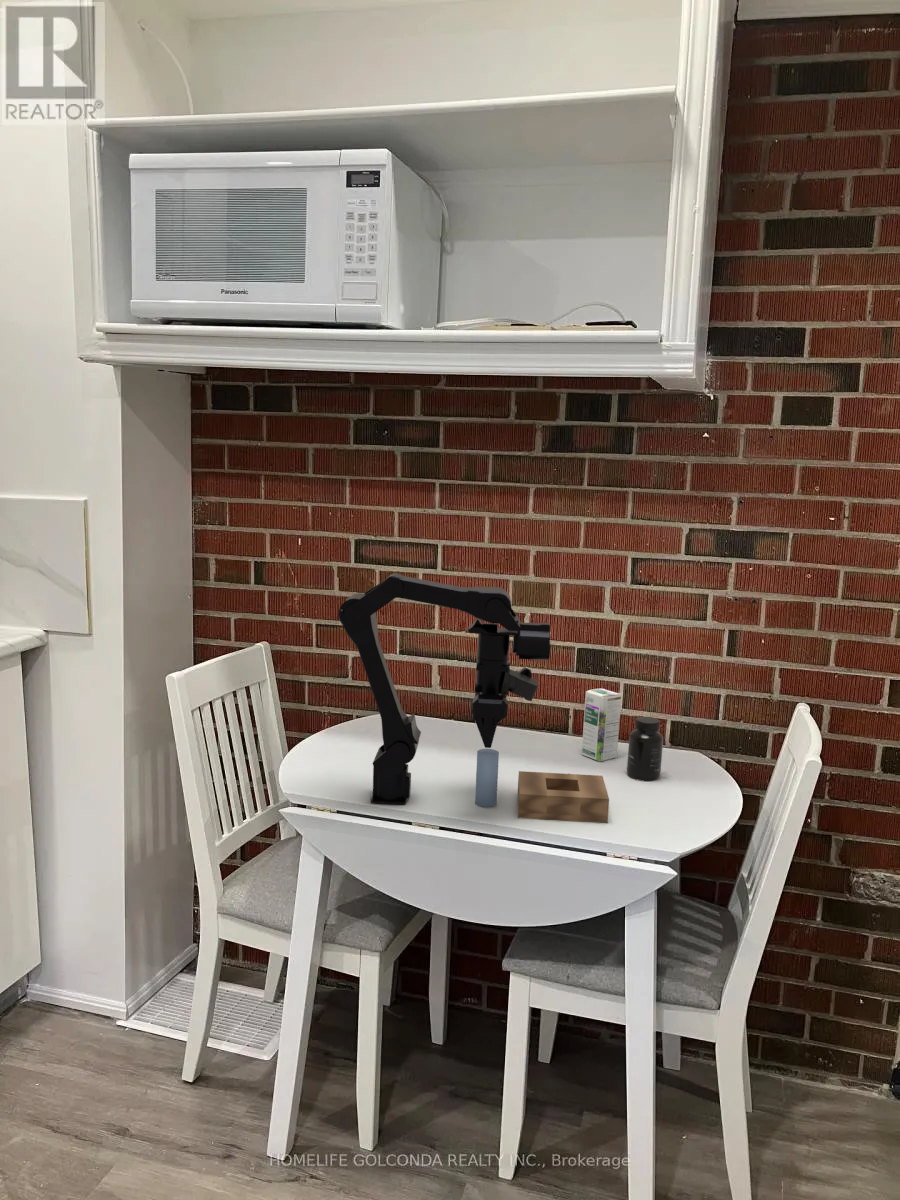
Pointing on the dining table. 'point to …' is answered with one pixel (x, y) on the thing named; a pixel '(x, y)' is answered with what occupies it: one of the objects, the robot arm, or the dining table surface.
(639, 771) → the supplement bottle
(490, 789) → the pin
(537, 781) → the socket block
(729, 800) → the dining table surface
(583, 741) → the syrup box
